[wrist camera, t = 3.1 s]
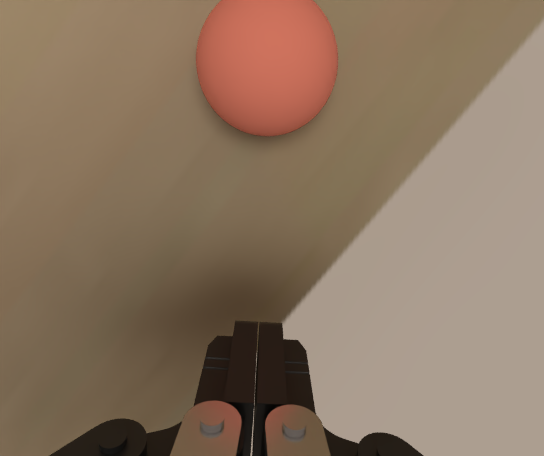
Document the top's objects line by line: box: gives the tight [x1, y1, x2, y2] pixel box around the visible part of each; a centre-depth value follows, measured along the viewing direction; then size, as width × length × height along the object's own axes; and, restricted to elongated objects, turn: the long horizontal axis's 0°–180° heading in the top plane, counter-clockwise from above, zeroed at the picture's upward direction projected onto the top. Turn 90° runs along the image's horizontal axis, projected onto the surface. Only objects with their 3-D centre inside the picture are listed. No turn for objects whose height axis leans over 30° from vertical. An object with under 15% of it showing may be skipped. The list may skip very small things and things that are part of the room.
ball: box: [196, 0, 338, 136], centre depth 16 cm, size 6×6×6 cm
